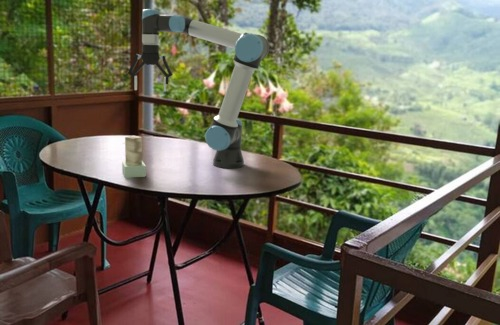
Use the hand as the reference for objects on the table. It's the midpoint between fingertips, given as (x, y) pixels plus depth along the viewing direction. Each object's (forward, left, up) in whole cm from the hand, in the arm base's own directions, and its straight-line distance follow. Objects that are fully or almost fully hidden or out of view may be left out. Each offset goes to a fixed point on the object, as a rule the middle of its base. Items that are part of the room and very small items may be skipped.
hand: (150, 90), depth 241 cm
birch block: (+4, +23, -30) cm, 38 cm away
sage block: (+4, +23, -35) cm, 42 cm away
